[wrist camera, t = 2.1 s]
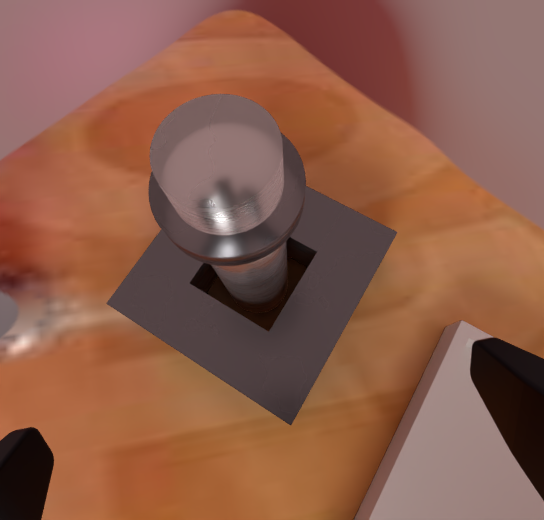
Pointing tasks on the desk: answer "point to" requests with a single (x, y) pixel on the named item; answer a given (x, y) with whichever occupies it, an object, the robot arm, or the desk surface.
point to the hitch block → (246, 334)
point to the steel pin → (229, 193)
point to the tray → (450, 450)
